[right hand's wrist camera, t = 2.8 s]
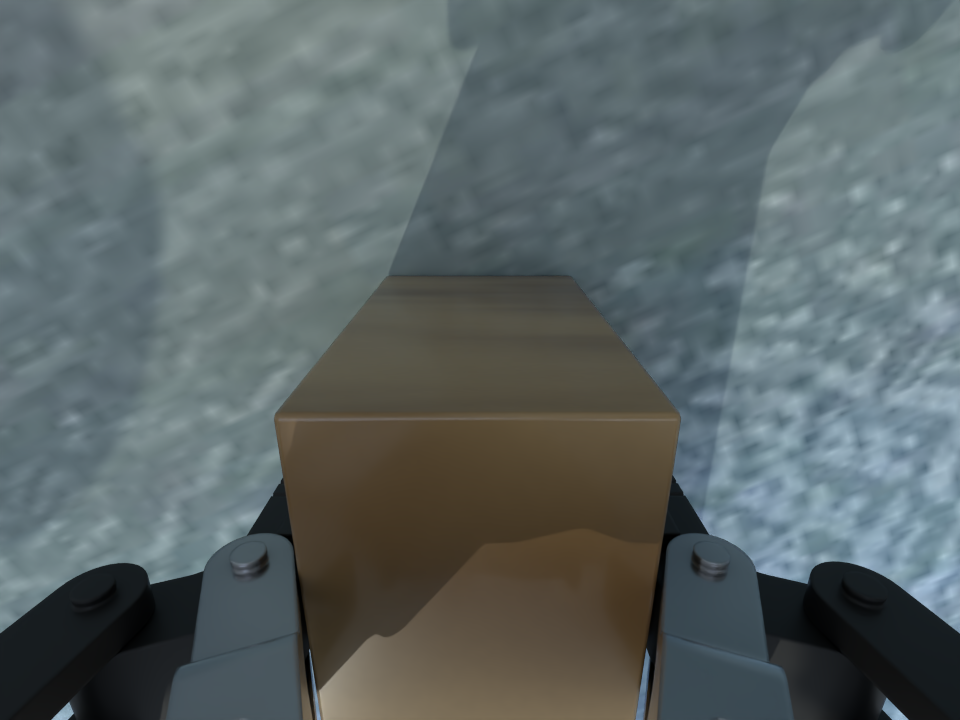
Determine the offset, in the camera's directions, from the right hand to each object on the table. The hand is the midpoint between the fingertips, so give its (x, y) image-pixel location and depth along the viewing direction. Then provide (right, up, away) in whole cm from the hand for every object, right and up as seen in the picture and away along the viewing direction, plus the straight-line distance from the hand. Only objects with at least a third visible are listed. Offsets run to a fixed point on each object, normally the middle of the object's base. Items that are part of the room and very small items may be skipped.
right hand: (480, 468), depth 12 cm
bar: (0, -8, +7) cm, 11 cm away
